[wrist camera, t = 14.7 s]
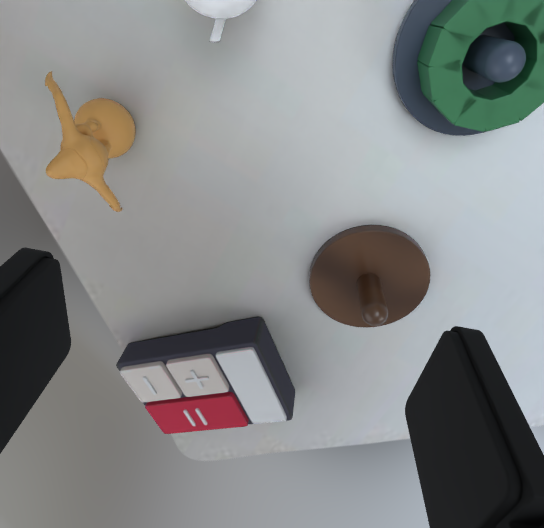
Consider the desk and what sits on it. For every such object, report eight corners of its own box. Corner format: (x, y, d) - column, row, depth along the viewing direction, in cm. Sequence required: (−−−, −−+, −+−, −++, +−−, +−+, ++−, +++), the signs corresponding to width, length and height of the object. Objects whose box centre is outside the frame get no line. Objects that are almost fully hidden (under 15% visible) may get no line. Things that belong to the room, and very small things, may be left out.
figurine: (64, 70, 29) (-69, 109, 19) (140, 43, 28) (42, 70, 18) (119, 180, 33) (34, 259, 23) (187, 161, 32) (130, 237, 22)
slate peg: (429, -66, 23) (460, -83, 18) (597, -25, 24) (673, -30, 19) (371, 114, 29) (383, 138, 24) (509, 145, 29) (550, 176, 24)
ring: (448, -30, 23) (464, -34, 21) (573, -1, 24) (604, -1, 21) (401, 104, 27) (409, 115, 25) (508, 129, 28) (528, 142, 25)
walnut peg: (326, 213, 33) (329, 251, 28) (447, 239, 34) (470, 282, 28) (298, 308, 39) (295, 354, 34) (402, 330, 39) (415, 379, 34)
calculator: (110, 370, 40) (254, 348, 36) (128, 338, 43) (262, 315, 39) (161, 439, 45) (292, 427, 41) (174, 406, 49) (296, 392, 45)
